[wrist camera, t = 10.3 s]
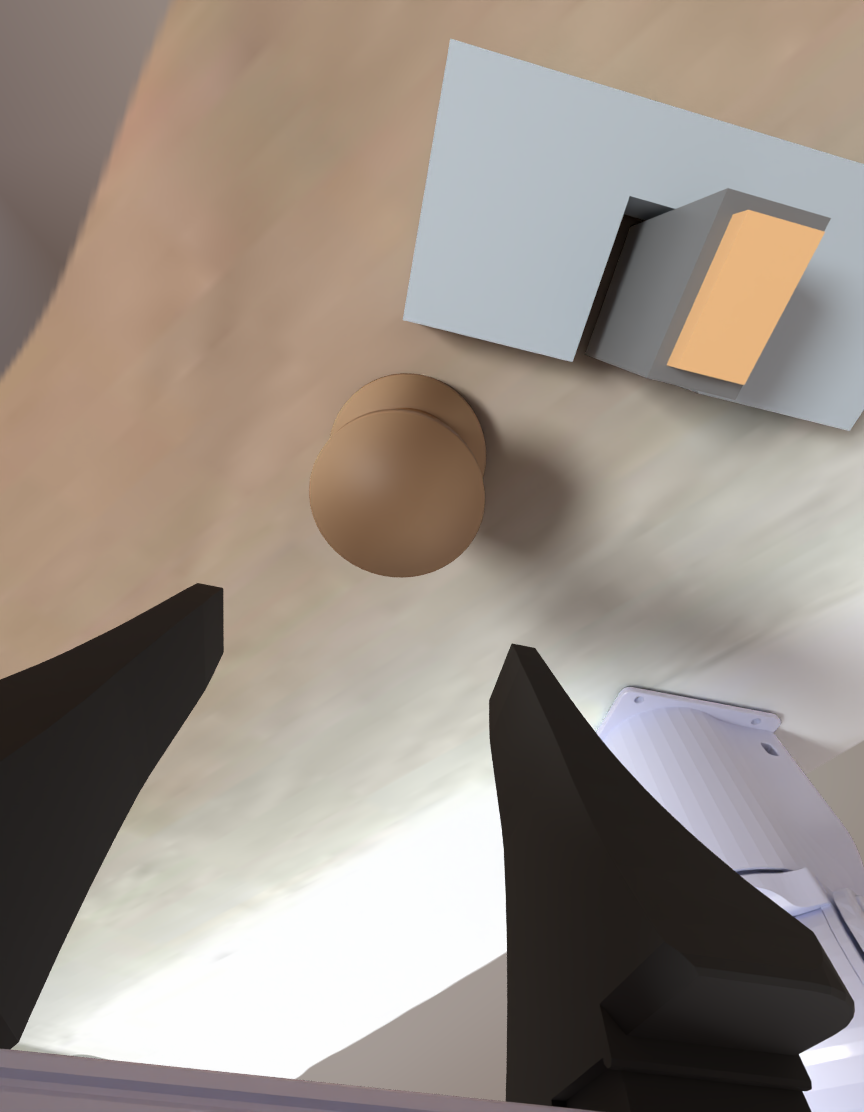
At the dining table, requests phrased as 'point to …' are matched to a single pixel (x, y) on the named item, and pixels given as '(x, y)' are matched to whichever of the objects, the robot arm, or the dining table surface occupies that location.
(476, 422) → the tan wooden yo-yo
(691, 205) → the grey rectangular block
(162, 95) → the dining table surface
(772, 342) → the board
